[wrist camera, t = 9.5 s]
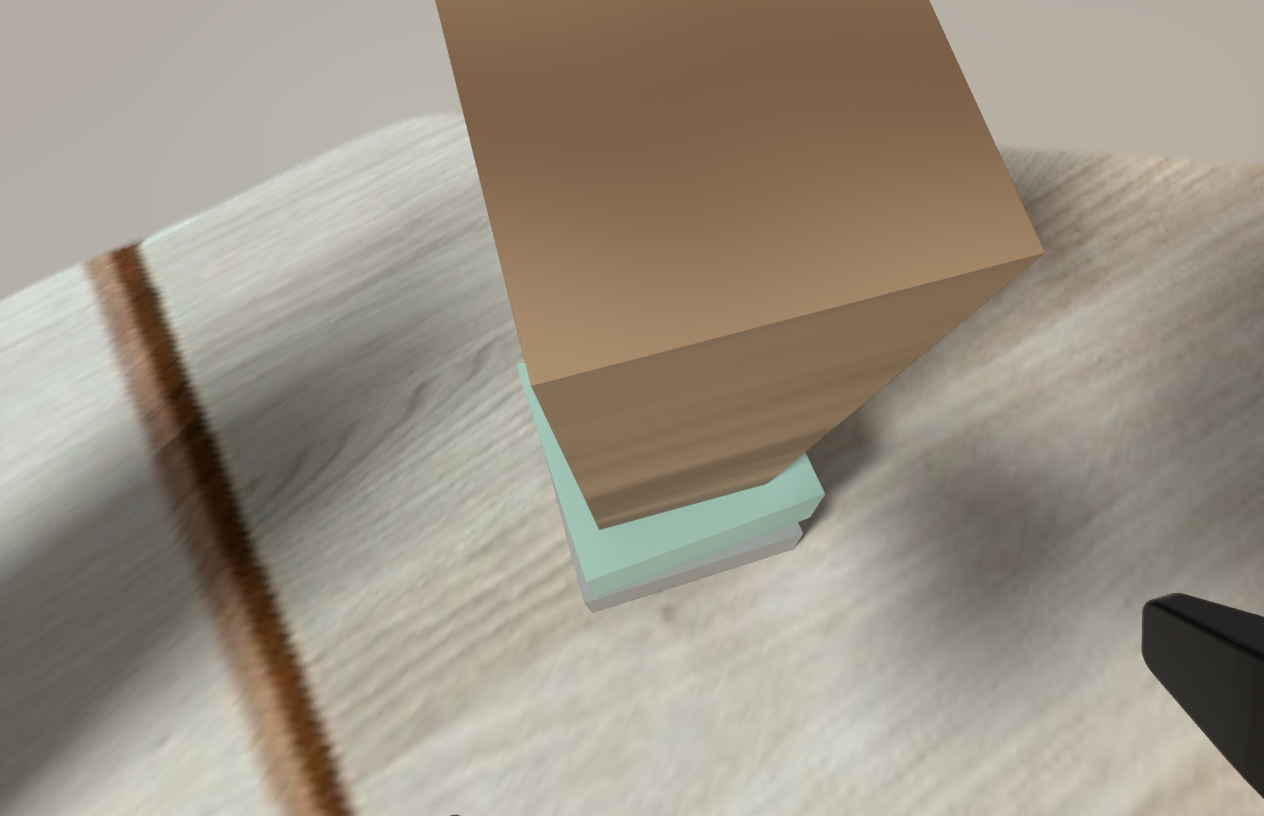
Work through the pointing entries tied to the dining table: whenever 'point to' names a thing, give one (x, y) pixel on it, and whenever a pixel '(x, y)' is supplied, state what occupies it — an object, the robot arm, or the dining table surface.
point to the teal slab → (671, 518)
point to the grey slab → (686, 565)
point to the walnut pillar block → (725, 222)
